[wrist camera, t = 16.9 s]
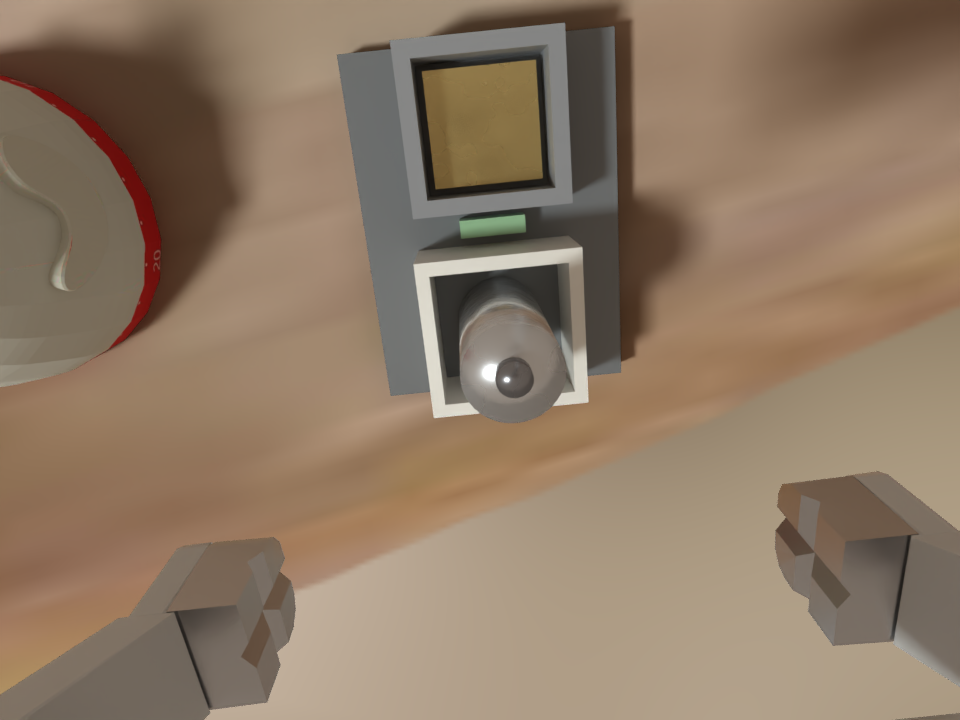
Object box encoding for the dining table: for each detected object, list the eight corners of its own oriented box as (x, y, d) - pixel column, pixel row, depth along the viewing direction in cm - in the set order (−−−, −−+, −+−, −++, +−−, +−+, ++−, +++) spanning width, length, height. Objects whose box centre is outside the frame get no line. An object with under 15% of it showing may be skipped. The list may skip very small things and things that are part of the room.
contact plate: (534, 61, 26) (535, 59, 25) (541, 177, 28) (542, 178, 27) (422, 72, 26) (421, 71, 25) (436, 188, 28) (435, 189, 27)
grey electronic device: (608, 31, 27) (637, 8, 23) (615, 364, 33) (640, 399, 28) (341, 58, 27) (319, 41, 23) (393, 386, 33) (382, 425, 28)
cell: (536, 272, 30) (566, 322, 21) (541, 350, 31) (571, 424, 23) (454, 281, 30) (454, 334, 21) (463, 358, 31) (466, 435, 23)
